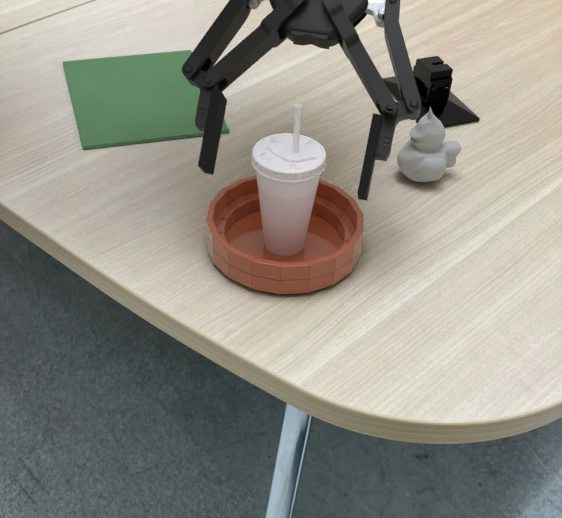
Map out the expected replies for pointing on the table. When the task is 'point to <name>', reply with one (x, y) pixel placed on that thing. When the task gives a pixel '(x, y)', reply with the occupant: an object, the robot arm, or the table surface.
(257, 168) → the smoothie
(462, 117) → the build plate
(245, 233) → the bowl
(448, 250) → the table surface
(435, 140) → the rubber duck
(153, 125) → the cloth
